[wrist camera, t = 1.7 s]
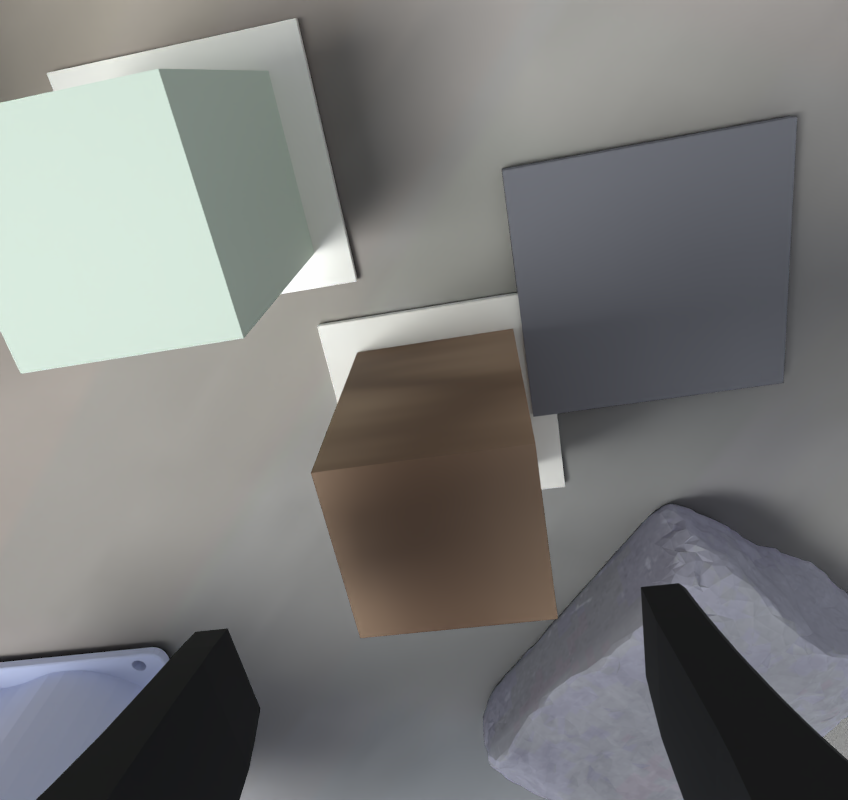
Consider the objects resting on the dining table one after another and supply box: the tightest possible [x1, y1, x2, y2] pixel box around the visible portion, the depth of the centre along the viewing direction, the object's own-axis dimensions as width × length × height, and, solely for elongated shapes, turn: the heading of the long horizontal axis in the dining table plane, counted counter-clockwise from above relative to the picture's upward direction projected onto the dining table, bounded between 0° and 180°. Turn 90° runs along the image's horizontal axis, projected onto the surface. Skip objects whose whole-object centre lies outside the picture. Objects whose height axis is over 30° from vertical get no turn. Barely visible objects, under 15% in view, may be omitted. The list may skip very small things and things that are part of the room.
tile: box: [47, 18, 357, 294], centre depth 18 cm, size 6×6×1 cm
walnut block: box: [311, 329, 558, 638], centre depth 17 cm, size 4×4×6 cm
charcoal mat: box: [502, 116, 797, 417], centre depth 18 cm, size 7×7×1 cm
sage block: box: [0, 69, 314, 374], centre depth 15 cm, size 4×4×6 cm
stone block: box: [483, 504, 848, 800], centre depth 23 cm, size 12×5×10 cm
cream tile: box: [317, 293, 565, 490], centre depth 20 cm, size 6×6×1 cm
